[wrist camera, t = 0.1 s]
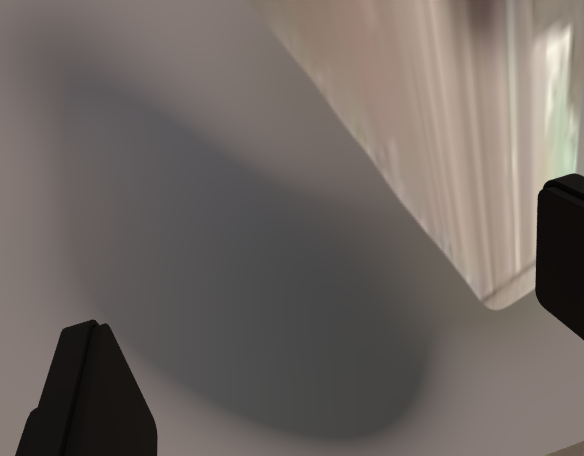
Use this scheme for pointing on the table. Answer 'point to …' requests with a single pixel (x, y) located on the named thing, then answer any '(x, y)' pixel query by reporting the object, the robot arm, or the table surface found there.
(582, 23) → the table surface
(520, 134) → the table surface
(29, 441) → the robot arm
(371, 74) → the table surface
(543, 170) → the table surface
